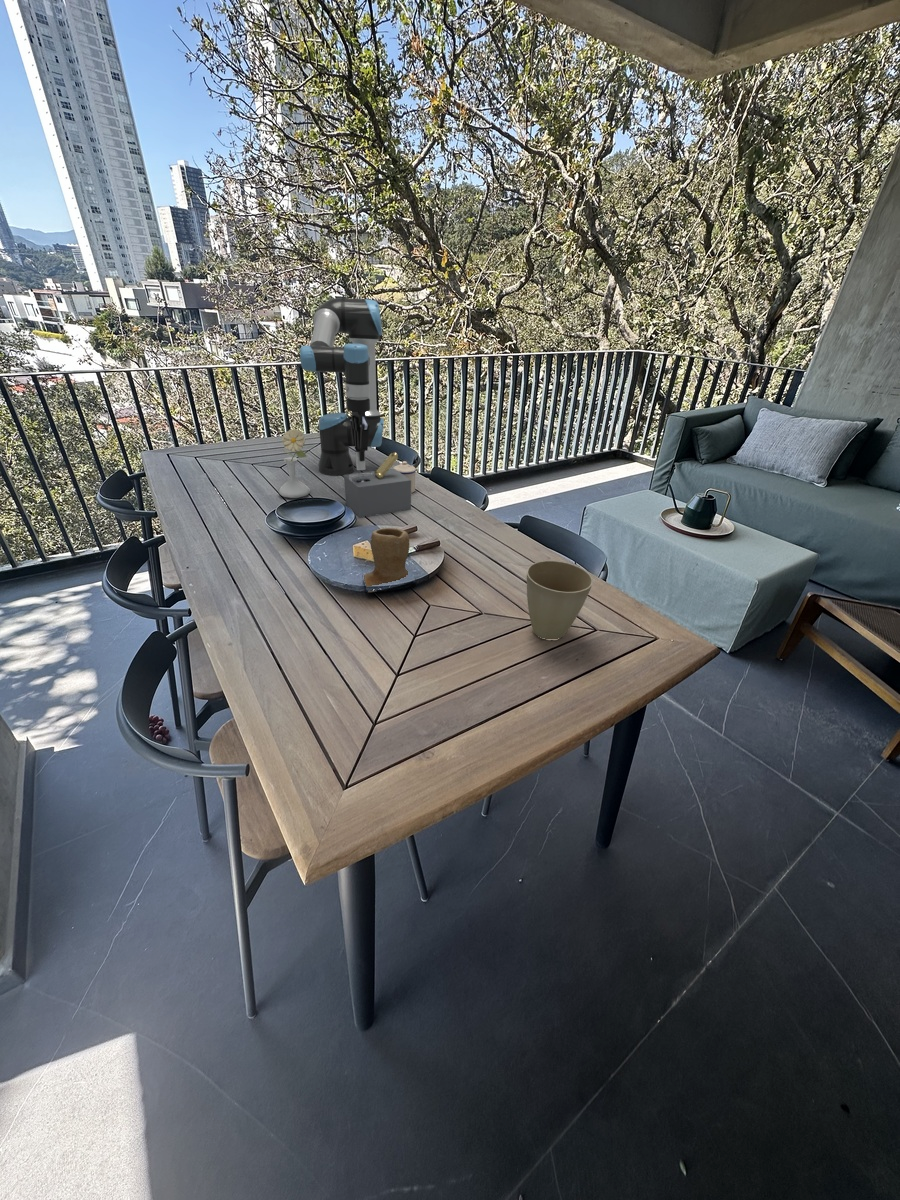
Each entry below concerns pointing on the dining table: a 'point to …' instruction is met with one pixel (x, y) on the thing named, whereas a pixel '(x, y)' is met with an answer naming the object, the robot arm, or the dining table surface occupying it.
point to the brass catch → (386, 465)
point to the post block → (378, 494)
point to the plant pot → (555, 596)
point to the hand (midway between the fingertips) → (361, 469)
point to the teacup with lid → (407, 473)
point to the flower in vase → (293, 465)
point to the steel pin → (360, 477)
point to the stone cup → (388, 556)
